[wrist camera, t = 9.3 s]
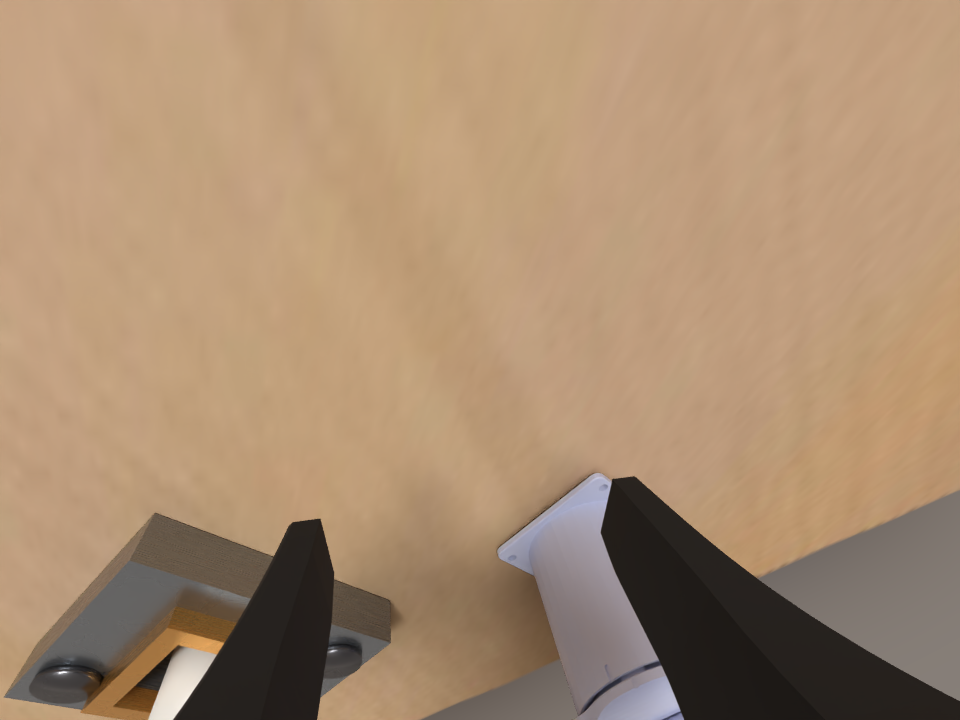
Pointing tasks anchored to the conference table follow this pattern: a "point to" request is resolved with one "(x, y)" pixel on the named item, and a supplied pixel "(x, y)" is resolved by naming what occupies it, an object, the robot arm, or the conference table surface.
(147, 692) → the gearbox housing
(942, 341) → the conference table surface
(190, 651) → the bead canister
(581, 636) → the robot arm
